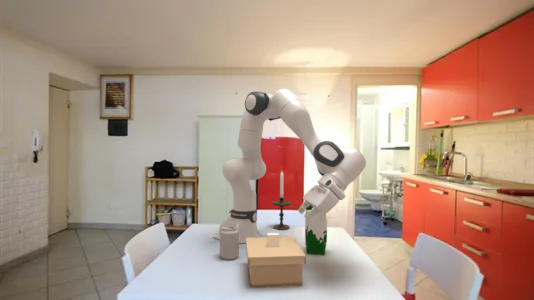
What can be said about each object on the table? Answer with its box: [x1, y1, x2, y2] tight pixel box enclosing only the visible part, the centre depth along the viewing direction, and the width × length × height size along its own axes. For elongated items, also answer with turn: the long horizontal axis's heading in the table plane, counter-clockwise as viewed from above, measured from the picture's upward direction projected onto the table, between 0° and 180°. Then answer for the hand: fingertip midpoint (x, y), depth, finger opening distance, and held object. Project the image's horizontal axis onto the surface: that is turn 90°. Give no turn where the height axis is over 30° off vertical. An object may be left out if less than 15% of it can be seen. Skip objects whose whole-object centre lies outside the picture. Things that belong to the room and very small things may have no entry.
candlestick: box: [271, 165, 292, 231], centre depth 152 cm, size 11×11×35 cm
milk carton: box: [304, 206, 328, 256], centre depth 114 cm, size 9×9×20 cm
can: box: [219, 225, 240, 261], centre depth 107 cm, size 8×8×12 cm
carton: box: [248, 264, 303, 288], centre depth 92 cm, size 16×18×9 cm
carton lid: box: [245, 232, 307, 267], centre depth 92 cm, size 18×20×6 cm
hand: (302, 215), depth 94 cm, fingers open, 8 cm apart
